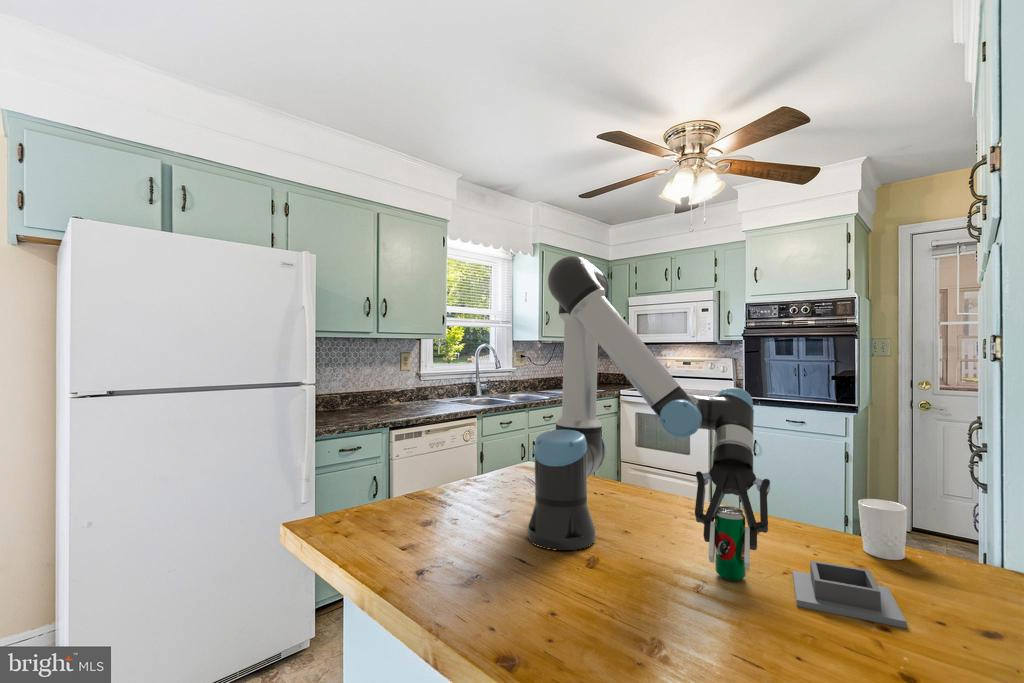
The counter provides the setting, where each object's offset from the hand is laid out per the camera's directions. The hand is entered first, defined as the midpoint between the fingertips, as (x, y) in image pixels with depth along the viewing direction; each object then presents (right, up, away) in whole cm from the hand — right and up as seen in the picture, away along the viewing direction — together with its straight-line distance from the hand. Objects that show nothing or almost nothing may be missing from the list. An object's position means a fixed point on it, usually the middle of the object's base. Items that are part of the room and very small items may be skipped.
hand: (729, 562), depth 84 cm
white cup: (+38, -5, +13) cm, 40 cm away
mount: (+17, -4, -5) cm, 18 cm away
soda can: (+2, -4, +3) cm, 6 cm away
